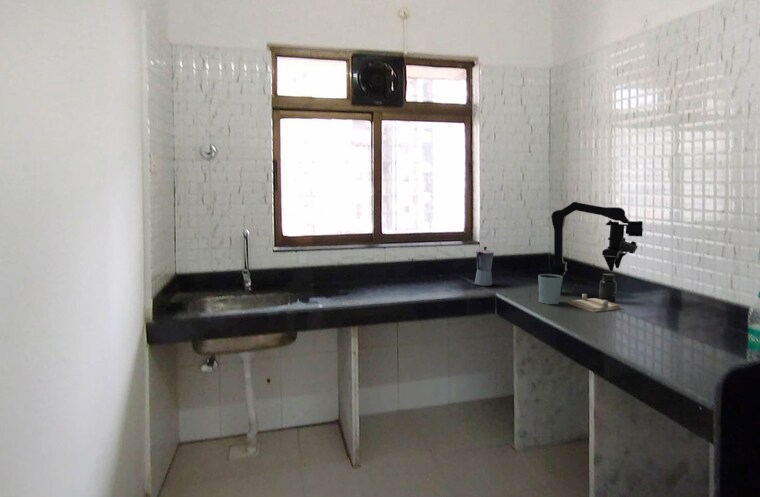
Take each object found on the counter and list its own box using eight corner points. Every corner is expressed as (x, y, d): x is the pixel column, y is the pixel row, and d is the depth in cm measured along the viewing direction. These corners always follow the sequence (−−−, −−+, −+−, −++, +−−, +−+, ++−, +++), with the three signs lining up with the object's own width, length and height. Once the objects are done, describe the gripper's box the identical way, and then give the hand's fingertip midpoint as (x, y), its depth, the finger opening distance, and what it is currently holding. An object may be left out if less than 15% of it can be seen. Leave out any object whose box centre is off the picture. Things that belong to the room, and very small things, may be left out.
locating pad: (593, 311, 201) (593, 302, 201) (569, 304, 214) (570, 295, 214) (620, 308, 206) (620, 299, 205) (595, 301, 219) (595, 292, 218)
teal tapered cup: (532, 301, 220) (533, 274, 219) (550, 299, 224) (551, 273, 223) (548, 306, 211) (549, 278, 210) (566, 303, 215) (567, 276, 214)
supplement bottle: (617, 302, 216) (619, 276, 214) (601, 302, 217) (602, 275, 215) (613, 299, 222) (614, 273, 221) (597, 298, 224) (598, 272, 222)
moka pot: (497, 283, 261) (498, 245, 258) (487, 288, 248) (487, 249, 245) (480, 281, 266) (480, 244, 263) (469, 286, 253) (469, 248, 250)
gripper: (630, 238, 209) (627, 274, 211) (641, 235, 223) (639, 268, 225) (602, 236, 217) (600, 271, 219) (615, 233, 231) (613, 266, 233)
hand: (614, 269), depth 224 cm, fingers open, 9 cm apart
